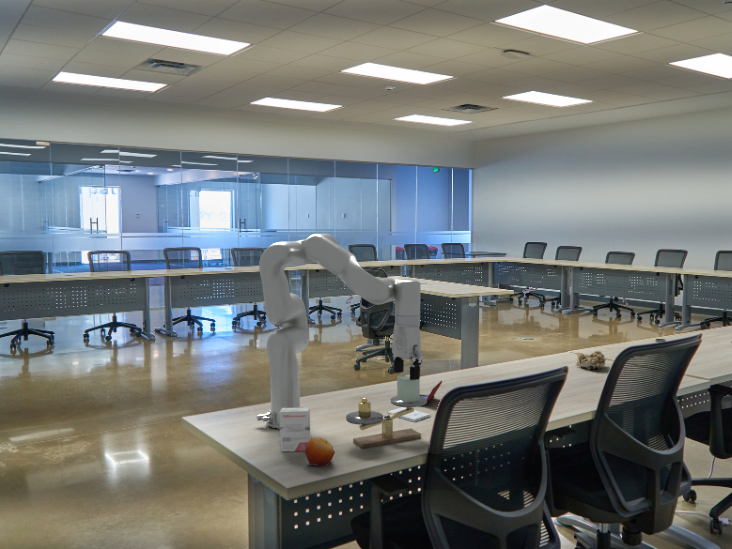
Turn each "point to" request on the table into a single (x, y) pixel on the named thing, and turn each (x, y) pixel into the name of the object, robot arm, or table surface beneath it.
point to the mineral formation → (591, 360)
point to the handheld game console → (431, 395)
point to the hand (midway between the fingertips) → (406, 375)
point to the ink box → (294, 428)
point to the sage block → (408, 389)
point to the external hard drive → (410, 414)
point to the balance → (383, 423)
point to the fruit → (319, 452)
